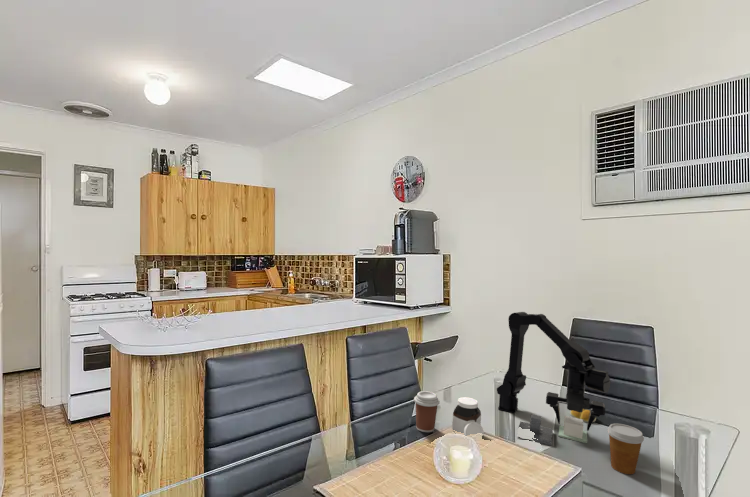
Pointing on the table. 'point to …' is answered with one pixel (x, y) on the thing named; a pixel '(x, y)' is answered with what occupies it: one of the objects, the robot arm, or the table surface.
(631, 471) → the disposable coffee cup
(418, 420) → the coffee cup
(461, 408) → the spread jar
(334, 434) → the table surface
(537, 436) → the post stand
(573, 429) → the beige block
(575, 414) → the bread roll
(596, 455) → the table surface
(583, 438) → the pad
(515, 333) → the robot arm
